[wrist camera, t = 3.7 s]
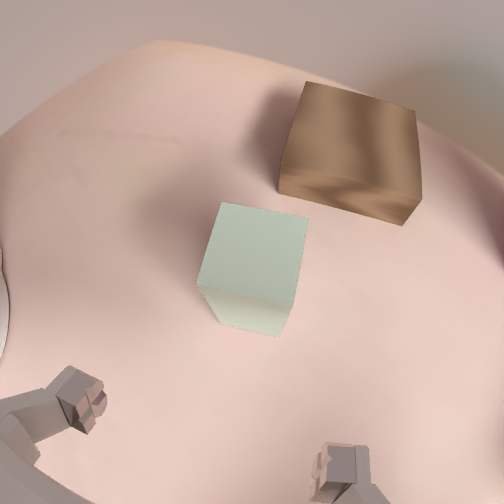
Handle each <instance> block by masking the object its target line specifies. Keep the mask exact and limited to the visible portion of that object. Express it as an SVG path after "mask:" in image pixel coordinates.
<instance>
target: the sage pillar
mask: <svg viewBox="0 0 504 504" xmlns="http://www.w3.org/2000/svg"><path fill="white" fill-rule="evenodd" d="M308 219H309V218H305V217H300V216H295V215H290V214H285V213H280V212H275V211H269V210H264V209H259V208H253V207H248V206H242V205H236V204H231V203H225V202H221V205H220V208H219V211H218V214H217V217H216V221H215V224H214V227H213V230H212V233H211V236H210V239H209V242H208V245H207V249H206V252H205V255H204V258H203V261H202V265H201V268H200V271H199V274H198V278H197V281H196V285H197V287H198V288H199V290H200V291H201V293H202V295H203V296H204V298H205V299H206V301H207V303H208V304H209V306H210V307H211V309H212V311H213V312H214V314H215V315H216V317H217V319H218V320H219V322H220V323H221V325H225V326H229V327H234V328H238V329H242V330H247V331H251V332H256V333H260V334H265V335H270V336H275V337H280V335H281V332H282V330H283V328H284V325H285V323H286V321H287V318H288V316H289V313H290V311H291V309H292V306H293V303H294V298H295V292H296V287H297V282H298V277H299V271H300V266H301V260H302V255H303V249H304V243H305V237H306V231H307V225H308Z"/></svg>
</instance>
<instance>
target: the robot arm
mask: <svg viewBox="0 0 504 504" xmlns="http://www.w3.org/2000/svg"><path fill="white" fill-rule="evenodd" d="M1 266H2V250H1V248H0V358H1V356H2V353H3V349H4V346H5V342H6V337H7V331H8V322H9V300H8V292H7V287H6V284H5V280H4V277H3V274H2V269H1ZM103 388H104V385H103V381H101V380H99V379H97V378H95V377H92V376H90V375H88V374H86V373H84V372H82V371H81V370H78V369H76V368H74V367H72V366H67V367H66V368H65V369H64V370H63V371H62V372H61V373H60V374H59V375H58V376H57V377H56V378H55V379H54V380H53V381H52V382H51V383H50V384H49V385H48V386H47V387H46V389H43V388H40V389H37V390H33V391H30V392H26V393H23V394H19V395H16V396H12V397H8V398H5V399H1V400H0V504H95V503H93V502H91V501H89V500H87V499H85V498H83V497H82V496H80V495H78V494H76V493H75V492H73V491H71V490H70V489H68V488H66V487H65V486H63V485H62V484H60V483H58V482H57V481H55V480H54V479H52V478H51V477H49V476H48V475H46V474H45V473H43V472H42V471H40V470H39V469H38V468H36V467H35V466H33V465H34V464H35V462H36V461H37V460H38V458H39V457H40V451H39V450H38V449H37V447H36V446H35V444H34V443H37V442H39V441H41V440H43V439H46V438H48V437H50V436H52V435H54V434H57V433H59V432H61V431H63V430H65V429H67V428H69V427H70V426H71V427H73V428H75V429H77V430H79V431H81V432H83V433H85V434H87V435H88V433H89V432H90V431H91V429H92V428H93V427H94V425H95V424H96V422H95V418H97V417H99V416H101V415H102V414H103V412H104V411H105V409H106V406H107V396H106V394H105V393H104V391H103V390H102V389H103ZM312 477H313V479H314V480H315V481H314V482H313V484H312V485H311V487H310V498H309V501H311V502H321V503H332V504H390V503H389V501H388V500H387V499H386V498H385V496H384V495H383V494H382V493H381V491H380V490H379V489H378V487H377V486H376V485H375V484H371V473H370V458H369V448H368V447H367V446H363V445H353V444H339V443H328V442H326V443H324V445H323V446H322V452H321V453H318V455H317V456H316V458H315V461H314V464H313V468H312Z"/></svg>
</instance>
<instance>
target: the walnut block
mask: <svg viewBox="0 0 504 504" xmlns="http://www.w3.org/2000/svg"><path fill="white" fill-rule="evenodd" d="M278 194H283V195H287V196H291V197H295V198H299V199H304V200H308V201H312V202H316V203H319V204H323V205H327V206H331V207H335V208H339V209H342V210H346V211H350V212H354V213H357V214H361V215H364V216H368V217H371V218H375V219H378V220H382V221H385V222H389V223H392V224H396V225H399V226H402V225H403V224H404V223H405V222H406V220H407V219H408V218H409V216H410V215H411V214H412V212H413V211H414V210H415V208H416V207H417V206H418V204H419V203H420V202H421V200H422V180H421V164H420V152H419V142H418V133H417V125H416V117H415V111H413V110H410V109H407V108H404V107H401V106H398V105H395V104H392V103H389V102H386V101H383V100H380V99H376V98H373V97H370V96H366V95H362V94H359V93H355V92H351V91H347V90H343V89H339V88H335V87H331V86H327V85H322V84H318V83H313V82H308V81H306V83H305V86H304V89H303V92H302V95H301V98H300V101H299V105H298V108H297V111H296V114H295V117H294V120H293V123H292V127H291V130H290V133H289V136H288V139H287V142H286V145H285V149H284V152H283V155H282V158H281V164H280V177H279V189H278Z"/></svg>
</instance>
